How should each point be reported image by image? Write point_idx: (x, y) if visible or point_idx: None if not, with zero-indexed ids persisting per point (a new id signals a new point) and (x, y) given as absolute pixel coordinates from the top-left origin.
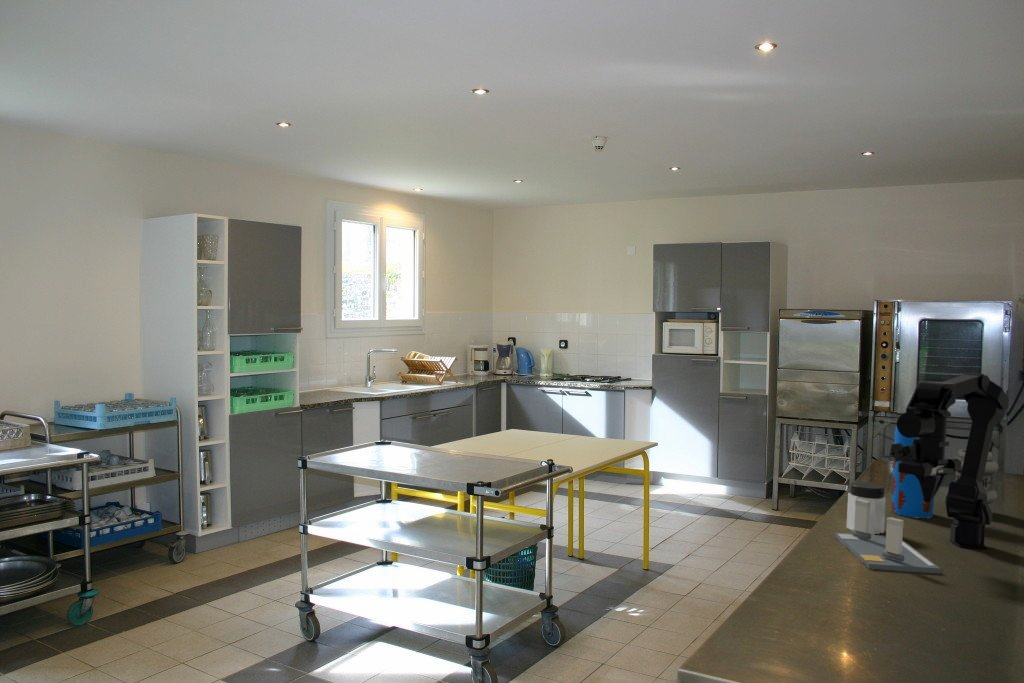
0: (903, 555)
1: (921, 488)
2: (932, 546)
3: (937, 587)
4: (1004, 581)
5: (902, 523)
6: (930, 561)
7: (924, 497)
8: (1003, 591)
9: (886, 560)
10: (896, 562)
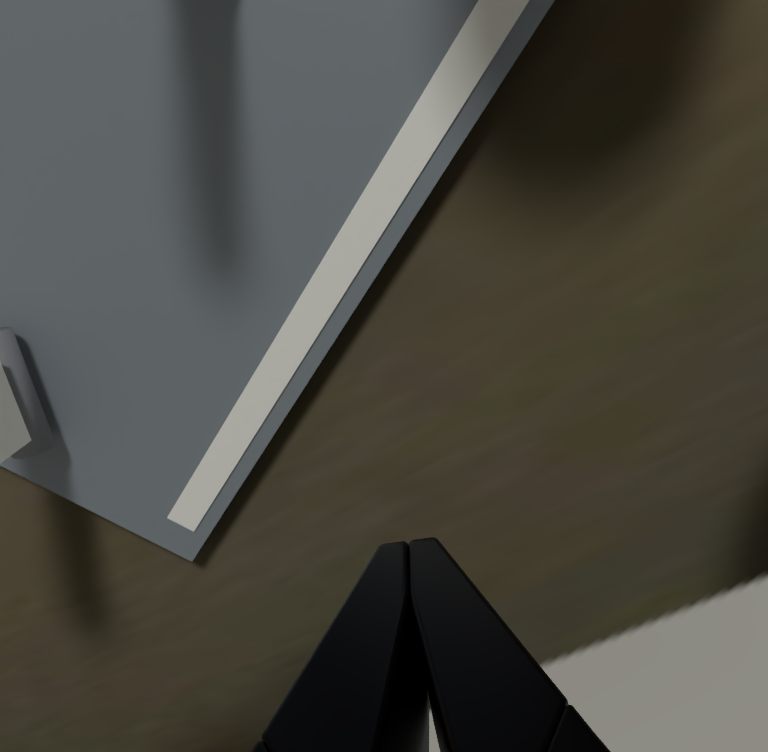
0: (30, 456)
1: (271, 728)
2: (685, 191)
3: (32, 635)
4: None
5: None
6: (242, 476)
7: (359, 594)
8: None
9: None
10: None
